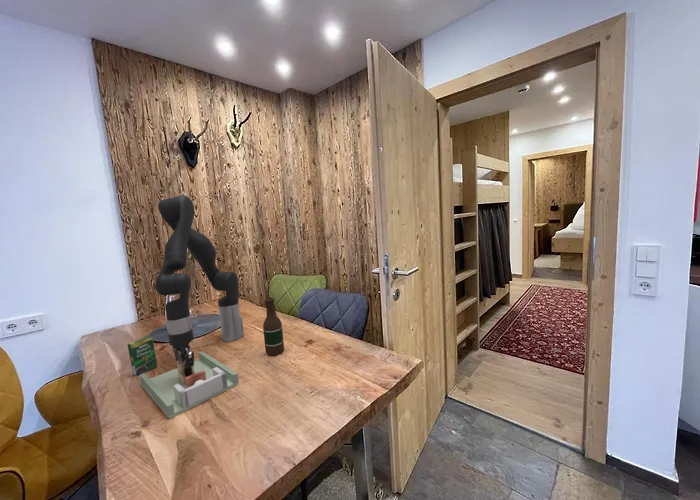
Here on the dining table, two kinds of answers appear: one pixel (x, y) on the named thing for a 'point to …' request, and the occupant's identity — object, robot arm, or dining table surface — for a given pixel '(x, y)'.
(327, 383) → the dining table surface
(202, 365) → the pitch
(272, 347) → the beer bottle
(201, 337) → the dining table surface
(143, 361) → the coffee box
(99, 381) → the dining table surface
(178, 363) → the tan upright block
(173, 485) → the dining table surface
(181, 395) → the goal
